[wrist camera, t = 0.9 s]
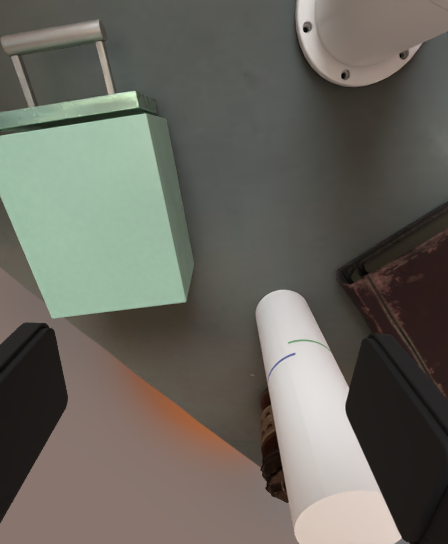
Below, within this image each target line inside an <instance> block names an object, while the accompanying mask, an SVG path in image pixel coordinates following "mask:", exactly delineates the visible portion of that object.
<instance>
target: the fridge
mask: <svg viewBox="0 0 448 544" xmlns="http://www.w3.org/2000/svg"><path fill="white" fill-rule="evenodd" d="M0 196H1V199H2V201H3V204H4V206H5V208H6V211H7V213H8V215H9V218H10V220H11V223H12V225H13V227H14V230H15V232H16V234H17V237H18V239H19V242H20V244H21V246H22V249H23V251H24V253H25V256H26V258H27V260H28V263H29V265H30V268H31V270H32V272H33V275H34V277H35V279H36V282H37V284H38V287H39V289H40V291H41V294H42V296H43V298H44V301H45V303H46V305H47V308H48V310H49V313H50V315H51V317H52V318H61V317H69V316H77V315H85V314H94V313H102V312H110V311H118V310H126V309H134V308H142V307H151V306H159V305H167V304H175V303H183V302H186V300H187V296H188V291H189V286H190V282H191V277H192V272H193V268H194V261H193V255H192V250H191V245H190V239H189V234H188V229H187V224H186V218H185V213H184V208H183V203H182V197H181V192H180V187H179V182H178V176H177V171H176V166H175V160H174V155H173V150H172V145H171V139H170V134H169V129H168V124H167V119H165V118H161V117H158V116H154V115H150V114H146V113H144V114H138V115H131V116H125V117H118V118H112V119H105V120H99V121H93V122H86V123H80V124H73V125H67V126H60V127H54V128H47V129H41V130H34V131H28V132H21V133H15V134H9V135H2V136H0Z"/></svg>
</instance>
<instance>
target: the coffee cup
mask: <svg viewBox="0 0 448 544" xmlns="http://www.w3.org/2000/svg"><path fill="white" fill-rule="evenodd" d="M261 408H262V414H261V451H262V455H263V460H262V461H263V462H262V463H263V465H262V467H261V471H262V473H263V474H262V476H263V477H264V479H265V480H266V481H267V487H266V490H267V491H268V492H269V493H271V495H272V496H273V497H276V498H278V499H281V500H282V501H284V502H286V503H289V501H288V495H287V490H286V484H285V478H284V473H283V467H282V462H281V456H280V450H279V445H278V439H277V434H276V428H275V423H274V417H273V411H272V406H271V400H270V395H269V389H268V390H267V391H265V392H264V393H263V395H262V397H261Z"/></svg>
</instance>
